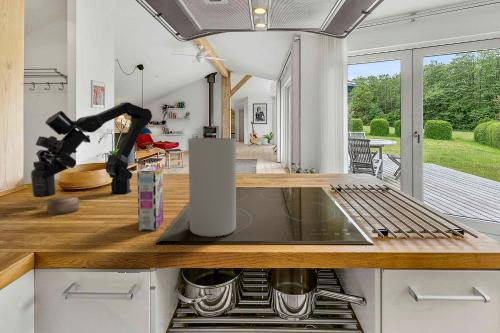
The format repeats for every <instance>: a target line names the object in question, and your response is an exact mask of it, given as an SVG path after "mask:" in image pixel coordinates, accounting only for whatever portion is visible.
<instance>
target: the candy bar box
mask: <svg viewBox="0 0 500 333" xmlns="http://www.w3.org/2000/svg"><path fill="white" fill-rule="evenodd" d="M136 173H137V174H136V175H137V214H138V215H137V216H138V218H137V219H138V222H137V223H138V231H139V232H141V231H142V232H146V231H147V232H152V231H153V232H154V231H155V232H156V231H157V229H158V228H159V227H160V225H161V223H162V222H163V221H164V175H163V174H164V168H163V166H146V167H144V168H142V169H140V170H138V171H137V172H136Z"/></svg>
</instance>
